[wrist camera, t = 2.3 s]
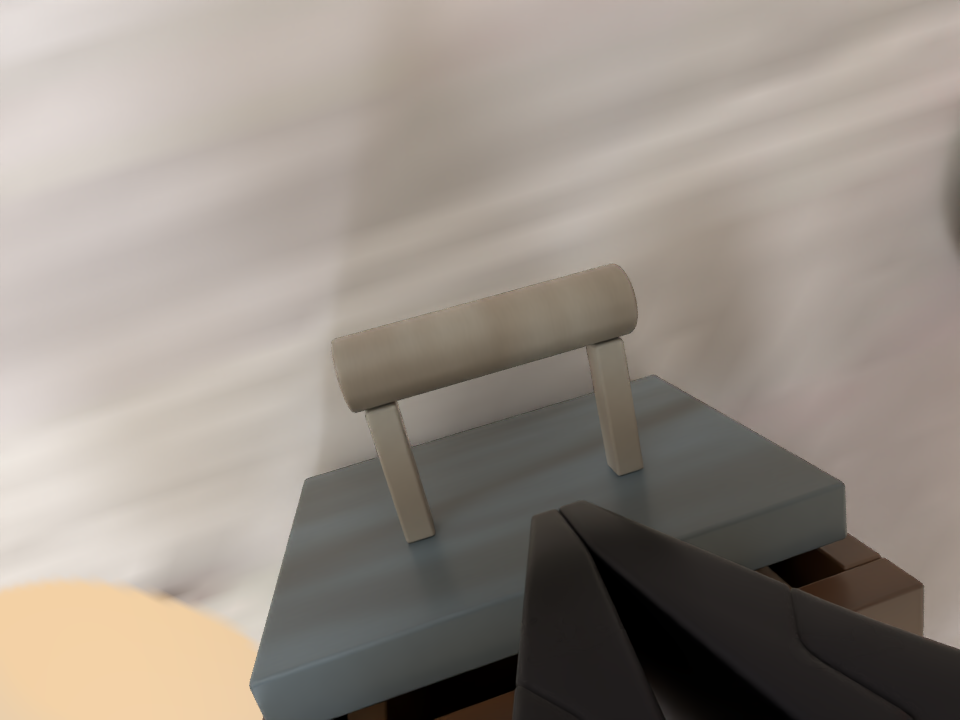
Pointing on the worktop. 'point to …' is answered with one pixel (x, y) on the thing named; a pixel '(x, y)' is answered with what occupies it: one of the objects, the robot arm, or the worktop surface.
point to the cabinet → (821, 572)
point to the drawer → (502, 503)
